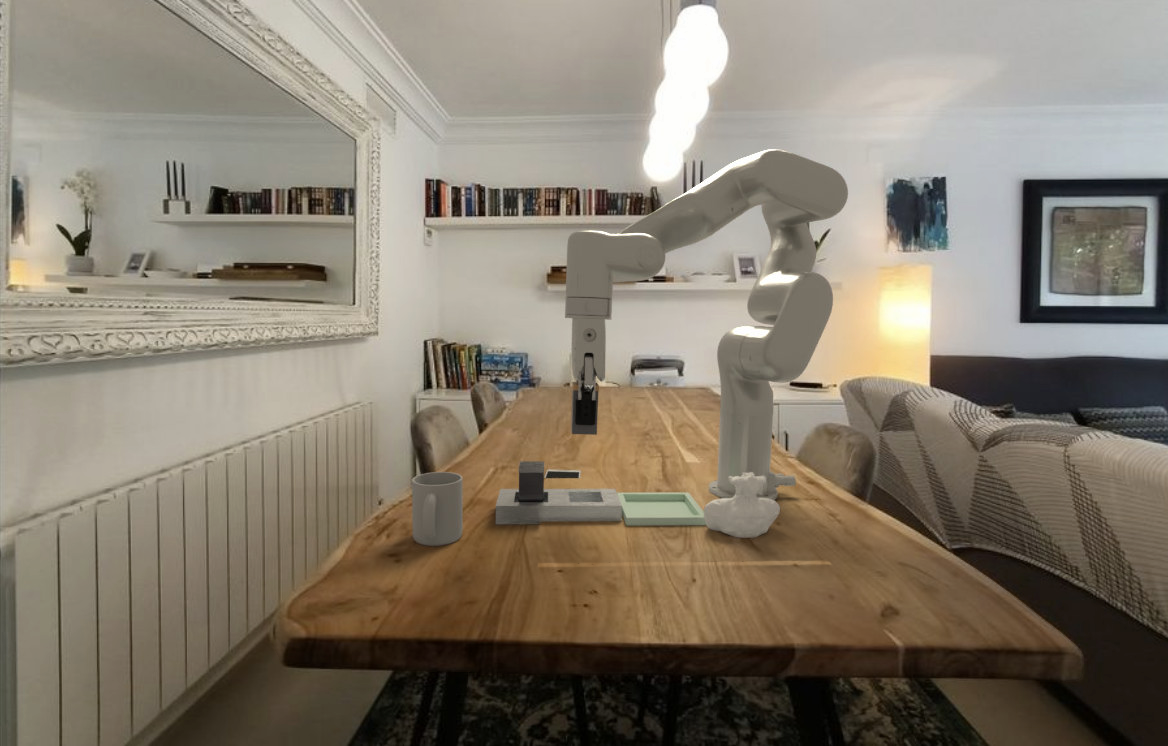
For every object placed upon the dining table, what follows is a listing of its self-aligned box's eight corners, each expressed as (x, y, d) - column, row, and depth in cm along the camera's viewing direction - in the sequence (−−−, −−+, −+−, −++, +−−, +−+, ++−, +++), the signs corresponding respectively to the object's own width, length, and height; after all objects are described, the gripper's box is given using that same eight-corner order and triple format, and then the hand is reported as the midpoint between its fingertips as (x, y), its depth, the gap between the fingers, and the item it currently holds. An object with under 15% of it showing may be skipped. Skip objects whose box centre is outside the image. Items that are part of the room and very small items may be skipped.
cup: (466, 528, 91) (466, 472, 91) (454, 554, 82) (453, 491, 81) (419, 528, 91) (419, 471, 90) (401, 554, 81) (400, 491, 80)
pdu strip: (614, 505, 104) (616, 458, 103) (621, 523, 95) (622, 471, 94) (500, 505, 102) (500, 457, 101) (495, 524, 93) (495, 471, 92)
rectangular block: (595, 429, 99) (596, 382, 99) (597, 434, 95) (598, 385, 94) (570, 429, 99) (572, 381, 98) (571, 434, 95) (573, 384, 94)
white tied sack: (704, 550, 90) (721, 508, 82) (693, 507, 96) (709, 465, 88) (779, 548, 91) (803, 507, 84) (765, 506, 97) (786, 464, 89)
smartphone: (539, 495, 110) (539, 490, 110) (547, 473, 125) (547, 468, 125) (577, 496, 110) (577, 491, 110) (580, 474, 125) (581, 469, 125)
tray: (688, 501, 106) (688, 492, 106) (707, 527, 94) (708, 517, 93) (616, 501, 106) (616, 492, 105) (626, 528, 93) (626, 517, 92)
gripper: (617, 310, 87) (612, 432, 89) (606, 311, 104) (602, 414, 105) (567, 308, 87) (562, 431, 88) (563, 309, 103) (560, 413, 105)
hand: (584, 420), depth 97 cm, fingers closed on rectangular block, 4 cm apart
